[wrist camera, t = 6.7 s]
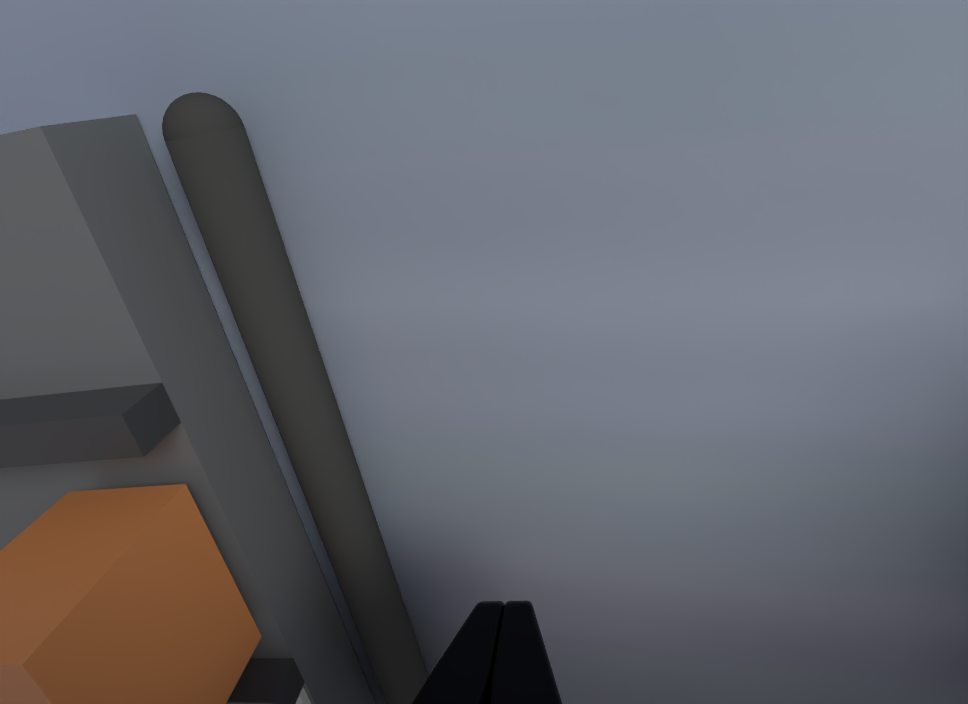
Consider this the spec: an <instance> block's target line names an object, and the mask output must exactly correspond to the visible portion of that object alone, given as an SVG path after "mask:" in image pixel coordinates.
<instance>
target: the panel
mask: <svg viewBox="0 0 968 704" xmlns="http://www.w3.org/2000/svg"><path fill="white" fill-rule="evenodd" d="M176 484H186V485H187V487H188V489H189V491H190V493H191V495H192V497H193V499H194V501H195V503H196V505H197V507H198V509H199V511H200V513H201V515H202V517H203V519H204V521H205V523H206V525H207V527H208V529H209V531H210V533H211V535H212V537H213V539H214V541H215V543H216V545H217V548H218V550H219V552H220V554H221V556H222V558H223V560H224V562H225V564H226V566H227V568H228V570H229V572H230V574H231V576H232V578H233V580H234V582H235V584H236V586H237V588H238V590H239V592H240V594H241V596H242V598H243V600H244V602H245V604H246V606H247V608H248V610H249V612H250V614H251V616H252V618H253V620H254V622H255V624H256V626H257V628H258V630H259V632H260V634H261V636H262V637H261V639H260V641H259V643H258V644H257V646H256V648H255V650H254V652H253V654H252V656H251V658H250V659H249V661H248V663H247V665H246V667H245V669H244V671H243V673H242V674H241V676H240V678H239V680H238V682H237V684H236V686H235V688H234V689H233V691H232V693H231V695H230V697H229V699H228V701H227V703H226V704H375V701H374V699H373V697H372V694H371V692H370V689H369V687H368V684H367V682H366V679H365V677H364V674H363V672H362V670H361V667H360V665H359V662H358V660H357V657H356V655H355V652H354V650H353V647H352V645H351V642H350V640H349V638H348V635H347V633H346V630H345V628H344V625H343V623H342V620H341V618H340V615H339V613H338V610H337V608H336V606H335V603H334V601H333V598H332V596H331V593H330V591H329V588H328V586H327V583H326V581H325V579H324V576H323V574H322V571H321V569H320V566H319V564H318V561H317V559H316V556H315V554H314V551H313V549H312V547H311V544H310V542H309V539H308V537H307V534H306V532H305V529H304V527H303V524H302V522H301V520H300V517H299V515H298V512H297V510H296V507H295V505H294V502H293V500H292V497H291V495H290V492H289V490H288V488H287V485H286V483H285V480H284V478H283V475H282V473H281V470H280V468H279V465H278V463H277V460H276V458H275V456H274V453H273V451H272V448H271V446H270V443H269V441H268V438H267V436H266V433H265V431H264V429H263V426H262V424H261V421H260V419H259V416H258V414H257V411H256V409H255V406H254V404H253V401H252V399H251V397H250V394H249V392H248V389H247V387H246V384H245V382H244V379H243V377H242V374H241V372H240V369H239V367H238V365H237V362H236V360H235V357H234V355H233V352H232V350H231V347H230V345H229V342H228V340H227V338H226V335H225V333H224V330H223V328H222V325H221V323H220V320H219V318H218V315H217V313H216V310H215V308H214V306H213V303H212V301H211V298H210V296H209V293H208V291H207V288H206V286H205V283H204V281H203V278H202V276H201V274H200V271H199V269H198V266H197V264H196V261H195V259H194V256H193V254H192V251H191V249H190V247H189V244H188V242H187V239H186V237H185V234H184V232H183V229H182V227H181V224H180V222H179V219H178V217H177V215H176V212H175V210H174V207H173V205H172V202H171V200H170V197H169V195H168V192H167V190H166V188H165V185H164V183H163V180H162V178H161V175H160V173H159V170H158V168H157V165H156V163H155V160H154V158H153V156H152V153H151V151H150V148H149V146H148V143H147V141H146V138H145V136H144V133H143V131H142V128H141V126H140V124H139V121H138V119H137V116H136V114H135V115H127V116H119V117H112V118H104V119H96V120H88V121H80V122H72V123H64V124H56V125H49V126H41V127H36V128H31V129H27V130H22V131H17V132H13V133H8V134H3V135H0V551H1V550H2V549H3V548H4V547H5V546H6V545H8V544H9V543H10V542H11V541H12V540H13V539H15V538H16V537H17V536H18V535H19V534H20V533H21V532H23V531H24V530H25V529H26V528H27V527H28V526H30V525H31V524H32V523H33V522H34V521H35V520H37V519H38V518H39V517H40V516H41V515H42V514H43V513H45V512H46V511H47V510H48V509H49V508H50V507H52V506H53V505H54V504H55V503H56V502H57V501H59V500H60V499H61V498H62V497H63V496H64V495H66V494H67V493H68V492H70V491H85V490H100V489H115V488H131V487H146V486H161V485H176Z"/></svg>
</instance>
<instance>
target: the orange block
mask: <svg viewBox="0 0 968 704" xmlns="http://www.w3.org/2000/svg"><path fill="white" fill-rule="evenodd" d="M261 637H262V636H261V634H260V632H259V630H258V628H257V626H256V624H255V622H254V620H253V618H252V616H251V614H250V612H249V610H248V608H247V606H246V604H245V602H244V600H243V598H242V596H241V594H240V592H239V590H238V588H237V586H236V584H235V582H234V580H233V578H232V576H231V574H230V572H229V570H228V568H227V566H226V564H225V562H224V560H223V558H222V556H221V554H220V552H219V550H218V548H217V545H216V543H215V541H214V539H213V537H212V535H211V533H210V531H209V529H208V527H207V525H206V523H205V521H204V519H203V517H202V515H201V513H200V511H199V509H198V507H197V505H196V503H195V501H194V499H193V497H192V495H191V493H190V491H189V489H188V487H187V485H186V484H176V485H161V486H146V487H131V488H115V489H100V490H85V491H70V492H68V493H67V494H66V495H64V496H63V497H62V498H61V499H60V500H59V501H57V502H56V503H55V504H54V505H53V506H52V507H50V508H49V509H48V510H47V511H46V512H45V513H43V514H42V515H41V516H40V517H39V518H38V519H37V520H35V521H34V522H33V523H32V524H31V525H30V526H28V527H27V528H26V529H25V530H24V531H23V532H21V533H20V534H19V535H18V536H17V537H16V538H15V539H13V540H12V541H11V542H10V543H9V544H8V545H6V546H5V547H4V548H3V549H2V550H1V551H0V704H226V703H227V701H228V699H229V697H230V695H231V693H232V691H233V689H234V688H235V686H236V684H237V682H238V680H239V678H240V676H241V674H242V673H243V671H244V669H245V667H246V665H247V663H248V661H249V659H250V658H251V656H252V654H253V652H254V650H255V648H256V646H257V644H258V643H259V641H260V639H261Z"/></svg>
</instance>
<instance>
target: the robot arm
mask: <svg viewBox="0 0 968 704" xmlns="http://www.w3.org/2000/svg"><path fill="white" fill-rule="evenodd" d="M411 704H562V702H561V698H560V695H559V692H558V688H557V685H556V682H555V678H554V675H553V672H552V668H551V665H550V662H549V658H548V655H547V652H546V649H545V645H544V642H543V639H542V635H541V632H540V629H539V625H538V622H537V619H536V615H535V612H534V609H533V606H532V603H531V602H530V601H508V602H506V604H504V603H503V602H501V601H483V602H480V603H478V604H477V605H476V606H475V607H474V609H473V610H472V612H471V614H470V615H469V617H468V618H467V620H466V621H465V623H464V624H463V626H462V627H461V629H460V630H459V632H458V633H457V635H456V636H455V638H454V639H453V641H452V642H451V644H450V645H449V647H448V649H447V650H446V652H445V653H444V655H443V656H442V658H441V659H440V661H439V662H438V664H437V665H436V667H435V668H434V670H433V671H432V673H431V674H430V676H429V677H428V679H427V681H426V682H425V684H424V685H423V687H422V688H421V690H420V691H419V693H418V694H417V696H416V697H415V699H414V700H413V702H412V703H411Z"/></svg>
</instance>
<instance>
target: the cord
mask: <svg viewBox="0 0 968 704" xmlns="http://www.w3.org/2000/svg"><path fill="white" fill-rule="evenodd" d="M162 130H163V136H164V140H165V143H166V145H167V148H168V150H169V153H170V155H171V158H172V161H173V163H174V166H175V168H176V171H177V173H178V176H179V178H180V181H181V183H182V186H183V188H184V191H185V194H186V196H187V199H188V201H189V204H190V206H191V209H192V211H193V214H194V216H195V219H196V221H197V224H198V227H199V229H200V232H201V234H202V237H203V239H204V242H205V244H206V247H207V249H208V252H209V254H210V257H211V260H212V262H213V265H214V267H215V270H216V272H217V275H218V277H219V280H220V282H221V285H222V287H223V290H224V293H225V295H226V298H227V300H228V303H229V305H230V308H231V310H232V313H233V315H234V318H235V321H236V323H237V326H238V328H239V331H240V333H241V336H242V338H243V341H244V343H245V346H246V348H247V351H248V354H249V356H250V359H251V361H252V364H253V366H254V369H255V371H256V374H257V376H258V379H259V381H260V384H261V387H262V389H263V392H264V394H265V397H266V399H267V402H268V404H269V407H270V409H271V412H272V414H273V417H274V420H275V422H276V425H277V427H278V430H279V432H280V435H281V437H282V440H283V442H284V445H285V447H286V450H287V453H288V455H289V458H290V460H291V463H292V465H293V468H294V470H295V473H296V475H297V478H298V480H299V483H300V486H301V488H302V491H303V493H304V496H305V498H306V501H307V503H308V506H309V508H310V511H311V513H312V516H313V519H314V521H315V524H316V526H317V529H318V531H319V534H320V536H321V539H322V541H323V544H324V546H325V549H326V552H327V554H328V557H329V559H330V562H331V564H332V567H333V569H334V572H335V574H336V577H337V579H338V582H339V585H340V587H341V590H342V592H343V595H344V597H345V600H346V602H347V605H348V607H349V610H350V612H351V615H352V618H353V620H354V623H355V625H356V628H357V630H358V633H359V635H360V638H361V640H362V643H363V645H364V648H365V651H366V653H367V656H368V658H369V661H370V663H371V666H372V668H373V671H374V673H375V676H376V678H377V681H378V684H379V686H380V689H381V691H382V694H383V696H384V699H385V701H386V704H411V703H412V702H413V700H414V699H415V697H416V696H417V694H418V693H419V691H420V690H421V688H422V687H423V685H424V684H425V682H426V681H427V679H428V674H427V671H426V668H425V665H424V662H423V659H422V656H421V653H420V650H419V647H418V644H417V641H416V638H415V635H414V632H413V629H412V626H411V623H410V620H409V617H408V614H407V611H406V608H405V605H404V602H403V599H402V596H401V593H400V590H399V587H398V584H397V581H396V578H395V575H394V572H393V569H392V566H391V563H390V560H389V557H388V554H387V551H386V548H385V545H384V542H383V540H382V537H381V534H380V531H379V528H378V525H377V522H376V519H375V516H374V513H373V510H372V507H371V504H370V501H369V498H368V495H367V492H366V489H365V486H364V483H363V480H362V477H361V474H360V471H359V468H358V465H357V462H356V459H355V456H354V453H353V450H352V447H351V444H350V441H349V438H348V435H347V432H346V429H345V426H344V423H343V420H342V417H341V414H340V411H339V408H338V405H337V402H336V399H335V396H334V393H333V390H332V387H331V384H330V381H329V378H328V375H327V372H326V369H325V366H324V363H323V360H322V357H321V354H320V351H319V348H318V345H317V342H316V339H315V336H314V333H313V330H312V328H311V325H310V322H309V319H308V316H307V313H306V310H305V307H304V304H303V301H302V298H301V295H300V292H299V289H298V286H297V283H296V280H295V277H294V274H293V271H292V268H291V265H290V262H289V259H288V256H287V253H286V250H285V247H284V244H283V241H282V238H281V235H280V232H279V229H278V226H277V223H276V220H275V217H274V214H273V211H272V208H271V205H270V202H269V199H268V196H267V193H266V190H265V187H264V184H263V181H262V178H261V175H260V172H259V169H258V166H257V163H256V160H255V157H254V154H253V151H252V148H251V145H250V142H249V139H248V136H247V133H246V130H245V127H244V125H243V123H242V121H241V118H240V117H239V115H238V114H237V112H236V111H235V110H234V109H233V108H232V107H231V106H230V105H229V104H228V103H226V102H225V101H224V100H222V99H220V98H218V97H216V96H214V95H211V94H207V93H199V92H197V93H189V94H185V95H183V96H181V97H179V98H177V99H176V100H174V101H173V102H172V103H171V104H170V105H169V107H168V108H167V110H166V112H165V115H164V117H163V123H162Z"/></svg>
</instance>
